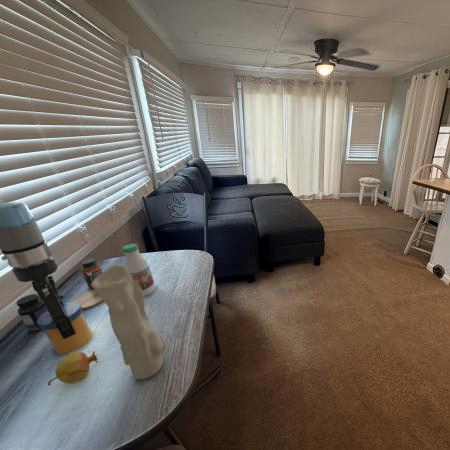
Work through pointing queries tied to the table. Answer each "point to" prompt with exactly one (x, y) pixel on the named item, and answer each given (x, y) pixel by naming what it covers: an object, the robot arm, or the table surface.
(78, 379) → the fruit
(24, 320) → the pill bottle
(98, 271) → the supplement bottle
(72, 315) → the lid
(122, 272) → the vase
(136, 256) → the milk bottle
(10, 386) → the table surface
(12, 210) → the robot arm
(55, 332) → the jar
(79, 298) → the coaster
